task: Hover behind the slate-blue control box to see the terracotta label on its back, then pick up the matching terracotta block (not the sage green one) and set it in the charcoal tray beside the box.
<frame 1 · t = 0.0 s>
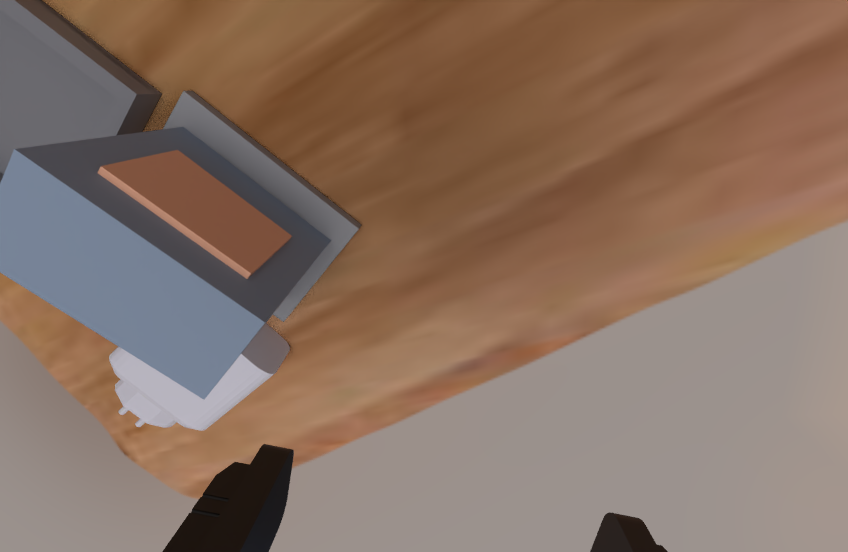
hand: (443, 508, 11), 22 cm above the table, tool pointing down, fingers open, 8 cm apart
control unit: (244, 214, 32), on the table
tray: (35, 106, 30), on the table
charger: (197, 355, 37), on the table
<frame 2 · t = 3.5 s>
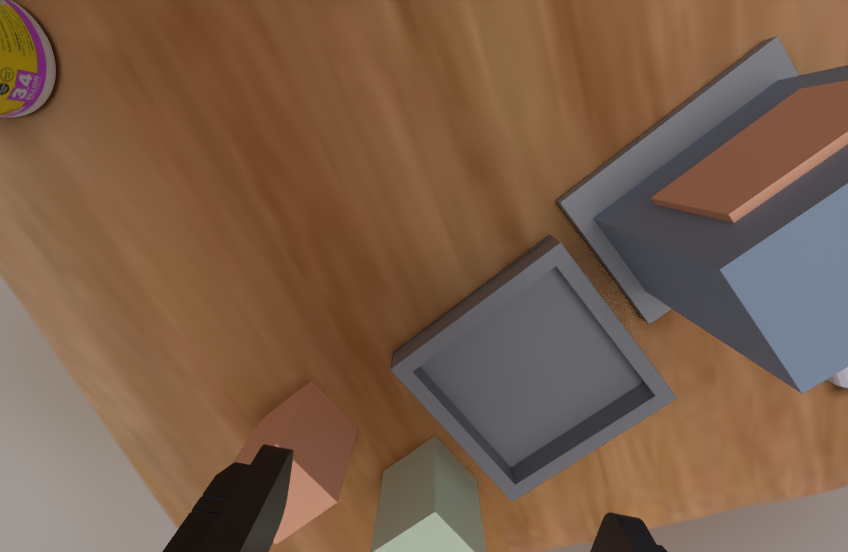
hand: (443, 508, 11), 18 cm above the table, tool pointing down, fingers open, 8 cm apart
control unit: (697, 191, 26), on the table
tray: (526, 365, 30), on the table
terracotta block: (309, 423, 32), on the table
supplement bottle: (9, 59, 25), on the table
sage block: (430, 475, 33), on the table
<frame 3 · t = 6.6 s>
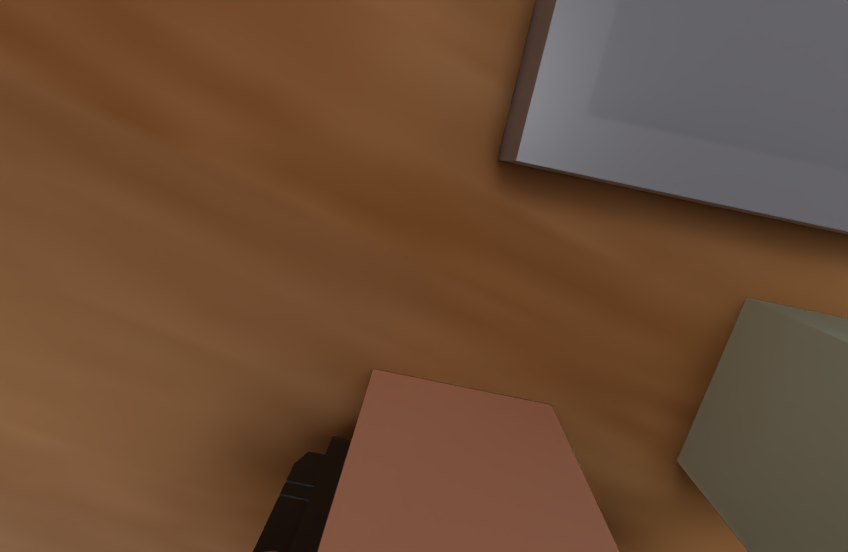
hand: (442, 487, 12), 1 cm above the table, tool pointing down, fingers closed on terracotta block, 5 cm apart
terracotta block: (443, 462, 13), on the table, touching gripper
sage block: (797, 401, 12), on the table
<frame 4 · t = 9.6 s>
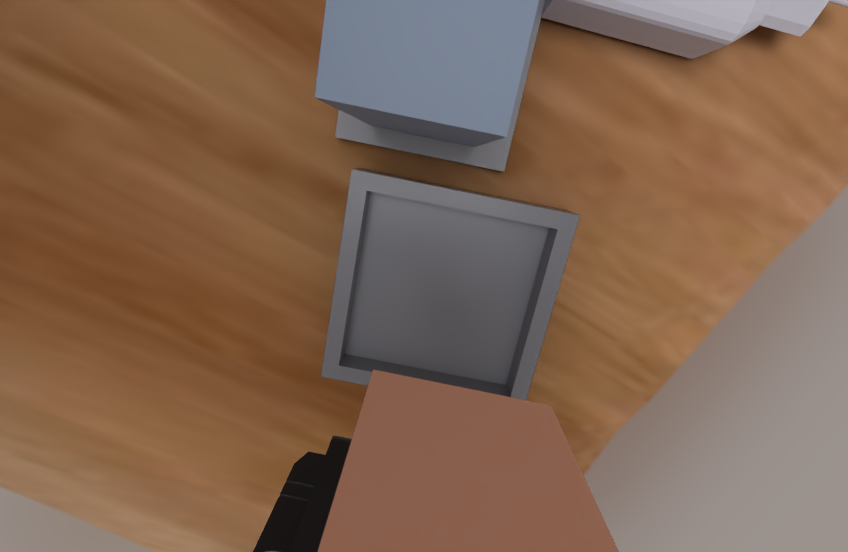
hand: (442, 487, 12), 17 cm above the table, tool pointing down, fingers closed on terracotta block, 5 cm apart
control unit: (444, 27, 24), on the table
tray: (442, 288, 28), on the table
terracotta block: (443, 463, 13), point 16 cm above the table, touching gripper
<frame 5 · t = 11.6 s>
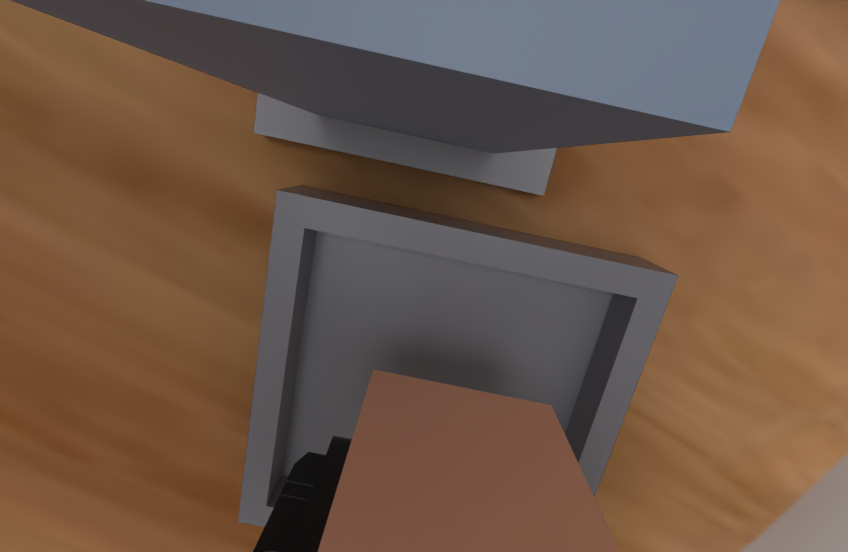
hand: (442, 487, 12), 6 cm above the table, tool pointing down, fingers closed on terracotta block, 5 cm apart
tray: (436, 376, 18), on the table
terracotta block: (443, 463, 13), point 5 cm above the table, touching gripper
when the fingers open (3 cm above the table, at t = 12.8 s): terracotta block drops 1 cm, resting on tray.
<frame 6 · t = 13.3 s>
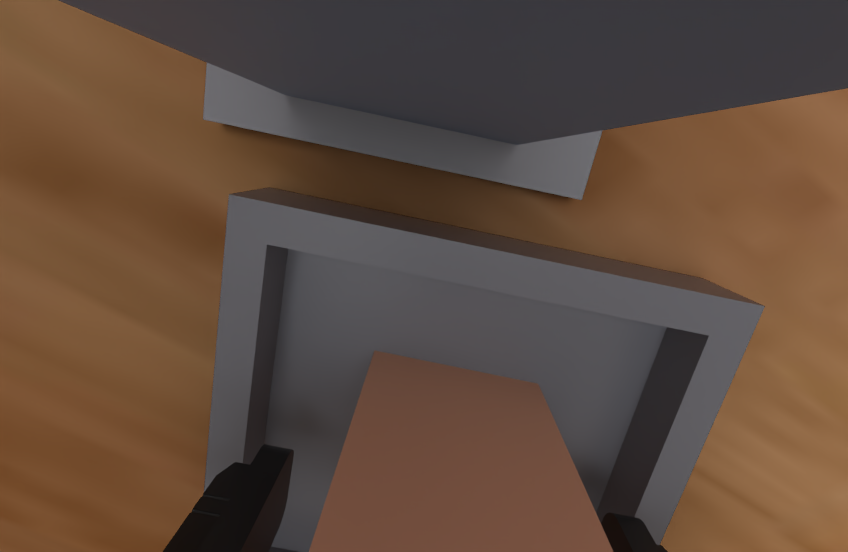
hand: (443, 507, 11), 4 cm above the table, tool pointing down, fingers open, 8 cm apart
tray: (441, 423, 14), on the table
terracotta block: (438, 437, 14), point 1 cm above the table, touching tray
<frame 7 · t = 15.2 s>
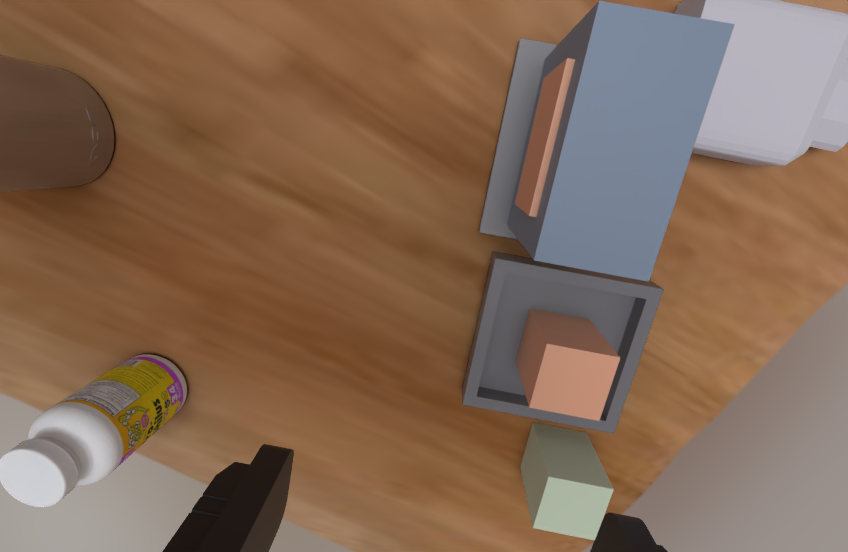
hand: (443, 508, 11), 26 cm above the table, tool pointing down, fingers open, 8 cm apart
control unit: (561, 153, 33), on the table
tray: (550, 337, 37), on the table
charger: (751, 97, 32), on the table
terracotta block: (551, 341, 37), point 1 cm above the table, touching tray
supplement bottle: (158, 381, 42), on the table
sage block: (552, 450, 40), on the table
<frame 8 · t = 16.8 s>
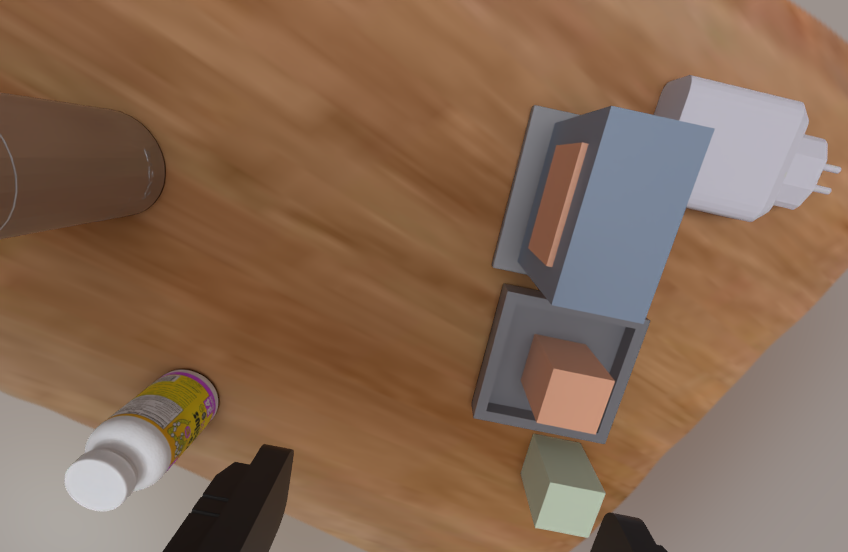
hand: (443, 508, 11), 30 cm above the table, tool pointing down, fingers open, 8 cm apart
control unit: (565, 201, 38), on the table
tray: (551, 359, 42), on the table
charger: (725, 160, 37), on the table
terracotta block: (552, 362, 42), point 1 cm above the table, touching tray
supplement bottle: (190, 394, 45), on the table
sage block: (549, 458, 45), on the table
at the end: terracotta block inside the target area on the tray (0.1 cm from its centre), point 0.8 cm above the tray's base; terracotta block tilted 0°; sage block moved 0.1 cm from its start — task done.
